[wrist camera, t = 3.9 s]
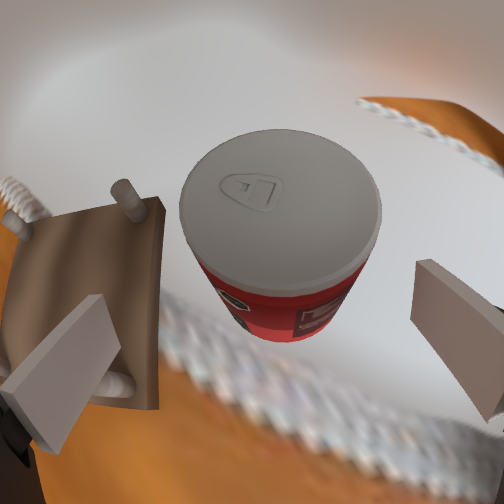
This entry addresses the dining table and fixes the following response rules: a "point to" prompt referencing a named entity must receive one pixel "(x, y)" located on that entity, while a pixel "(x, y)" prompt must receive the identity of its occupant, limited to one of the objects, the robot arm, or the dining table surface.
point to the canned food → (281, 228)
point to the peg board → (91, 288)
